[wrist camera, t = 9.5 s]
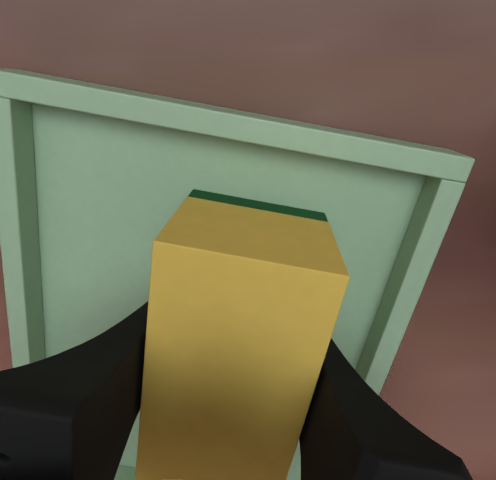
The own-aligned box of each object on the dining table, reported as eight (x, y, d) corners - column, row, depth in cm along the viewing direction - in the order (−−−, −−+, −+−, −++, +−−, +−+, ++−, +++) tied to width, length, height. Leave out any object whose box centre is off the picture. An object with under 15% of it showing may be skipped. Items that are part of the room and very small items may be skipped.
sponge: (277, 393, 17) (278, 505, 13) (171, 374, 17) (134, 479, 13) (325, 212, 14) (351, 276, 9) (192, 188, 14) (152, 240, 9)
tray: (318, 499, 21) (322, 534, 19) (43, 449, 21) (23, 481, 19) (451, 149, 13) (476, 158, 12) (18, 69, 13) (-19, 67, 12)
